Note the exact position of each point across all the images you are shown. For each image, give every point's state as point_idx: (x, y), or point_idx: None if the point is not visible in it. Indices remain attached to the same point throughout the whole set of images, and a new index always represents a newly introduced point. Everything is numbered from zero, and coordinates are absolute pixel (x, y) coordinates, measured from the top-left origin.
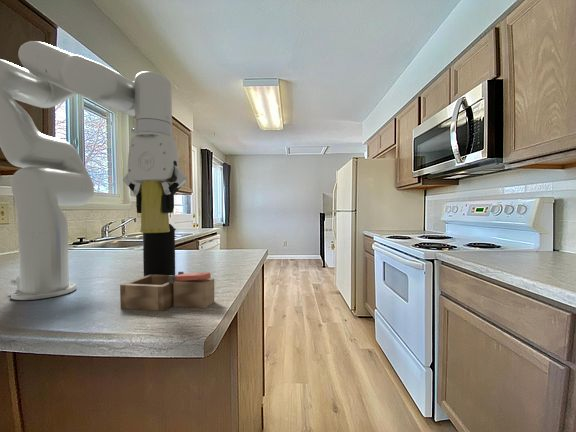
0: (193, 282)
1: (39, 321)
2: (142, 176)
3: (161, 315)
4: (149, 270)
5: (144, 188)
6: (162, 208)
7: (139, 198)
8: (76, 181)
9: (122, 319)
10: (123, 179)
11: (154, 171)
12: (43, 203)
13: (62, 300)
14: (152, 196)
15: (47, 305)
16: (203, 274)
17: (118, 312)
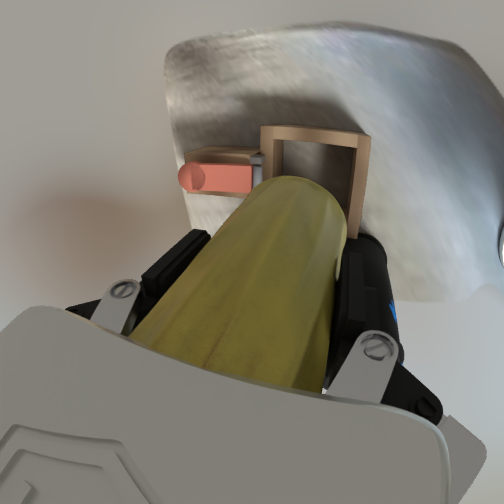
0: (209, 156)
1: (452, 77)
2: (213, 412)
3: (263, 102)
4: (366, 258)
5: (253, 310)
6: (201, 241)
7: (342, 302)
8: None
9: (321, 78)
10: (483, 457)
11: (44, 382)
12: None
13: (492, 190)
14: (210, 261)
15: (497, 162)
16: (187, 170)
17: (354, 111)
